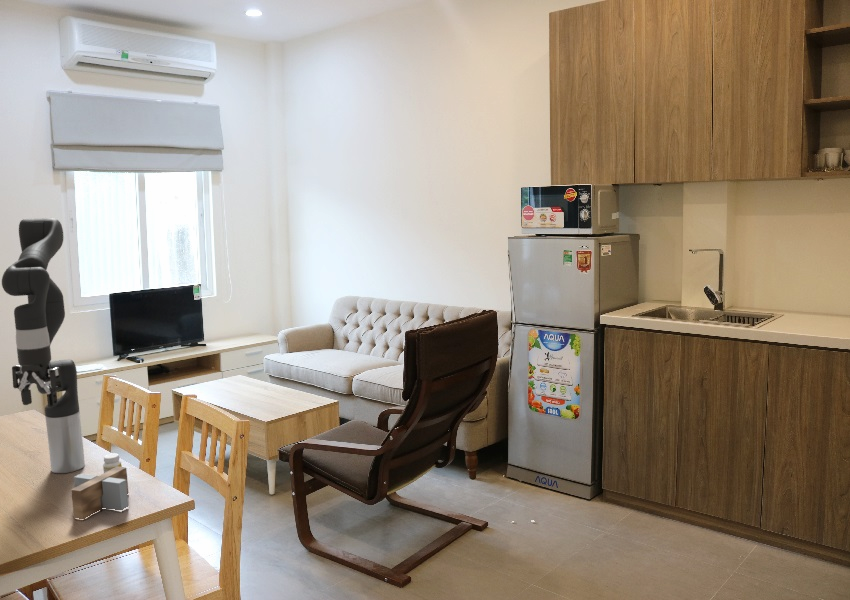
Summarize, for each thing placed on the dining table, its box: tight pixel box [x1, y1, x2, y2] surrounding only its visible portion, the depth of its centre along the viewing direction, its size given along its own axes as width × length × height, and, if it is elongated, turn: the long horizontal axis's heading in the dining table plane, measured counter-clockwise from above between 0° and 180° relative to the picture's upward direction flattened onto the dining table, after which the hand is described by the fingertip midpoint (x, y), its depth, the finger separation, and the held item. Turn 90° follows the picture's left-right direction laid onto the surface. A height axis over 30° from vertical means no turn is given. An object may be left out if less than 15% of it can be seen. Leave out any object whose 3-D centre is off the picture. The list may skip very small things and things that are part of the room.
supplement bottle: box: [102, 452, 123, 473], centre depth 205 cm, size 5×5×8 cm
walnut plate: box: [70, 466, 130, 519], centre depth 190 cm, size 16×3×8 cm, turn 160°
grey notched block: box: [73, 473, 129, 510], centre depth 190 cm, size 15×2×8 cm, turn 71°
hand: (39, 405), depth 187 cm, fingers open, 8 cm apart
